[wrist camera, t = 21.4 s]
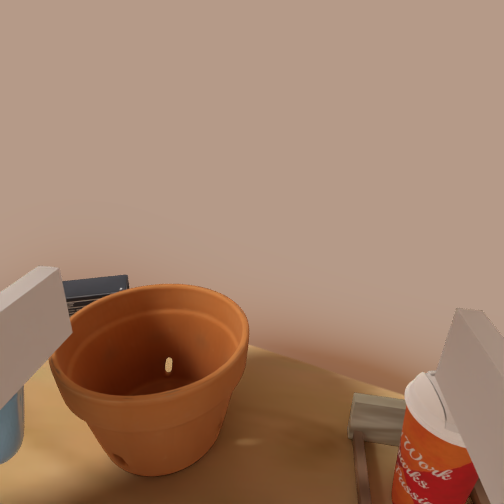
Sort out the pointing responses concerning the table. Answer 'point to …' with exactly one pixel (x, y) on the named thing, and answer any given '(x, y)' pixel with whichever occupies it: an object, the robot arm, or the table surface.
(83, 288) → the small box
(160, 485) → the table surface
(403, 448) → the coffee cup
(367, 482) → the channel
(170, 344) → the flower pot
